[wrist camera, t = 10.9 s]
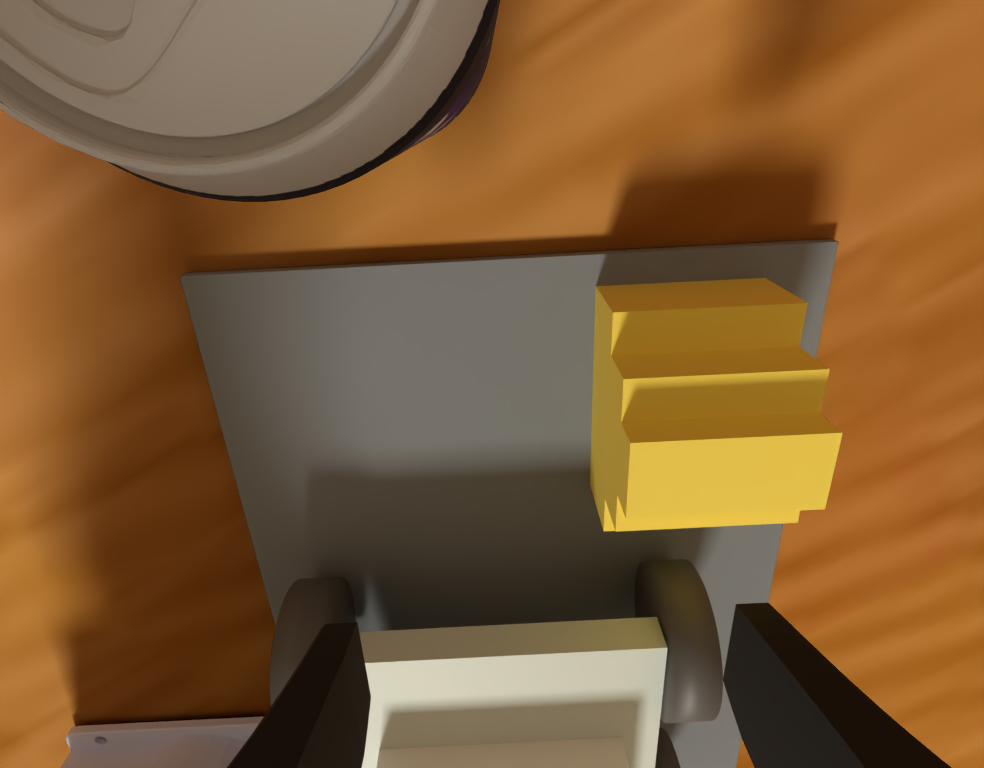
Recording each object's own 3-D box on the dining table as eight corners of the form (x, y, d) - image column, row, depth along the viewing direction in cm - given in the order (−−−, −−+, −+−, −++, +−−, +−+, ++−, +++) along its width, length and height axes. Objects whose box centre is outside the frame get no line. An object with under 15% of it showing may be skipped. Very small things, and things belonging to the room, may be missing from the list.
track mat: (325, 795, 28) (323, 804, 28) (185, 273, 18) (179, 276, 17) (729, 775, 28) (732, 784, 28) (830, 239, 18) (838, 241, 17)
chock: (589, 484, 21) (621, 592, 16) (595, 286, 18) (636, 348, 13) (735, 477, 20) (807, 582, 16) (765, 277, 18) (865, 336, 13)
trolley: (359, 790, 27) (328, 967, 22) (303, 548, 21) (241, 705, 16) (652, 775, 27) (697, 949, 22) (677, 529, 21) (749, 679, 16)
